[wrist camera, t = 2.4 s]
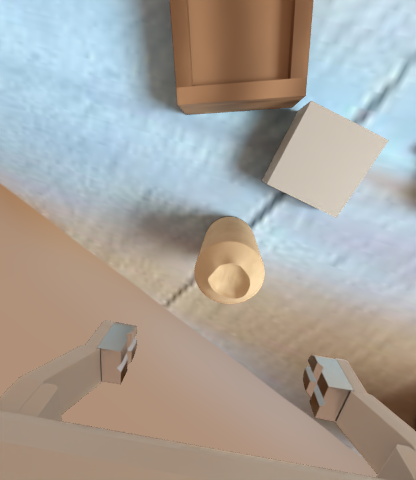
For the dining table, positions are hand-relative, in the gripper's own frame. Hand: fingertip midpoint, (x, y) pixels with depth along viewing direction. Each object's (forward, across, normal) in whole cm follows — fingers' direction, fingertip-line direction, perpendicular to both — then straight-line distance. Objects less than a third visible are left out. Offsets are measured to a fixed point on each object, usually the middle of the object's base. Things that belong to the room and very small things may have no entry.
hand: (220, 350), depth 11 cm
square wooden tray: (+16, -2, +18) cm, 24 cm away
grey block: (+16, +7, +9) cm, 20 cm away
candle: (+16, +1, 0) cm, 16 cm away
